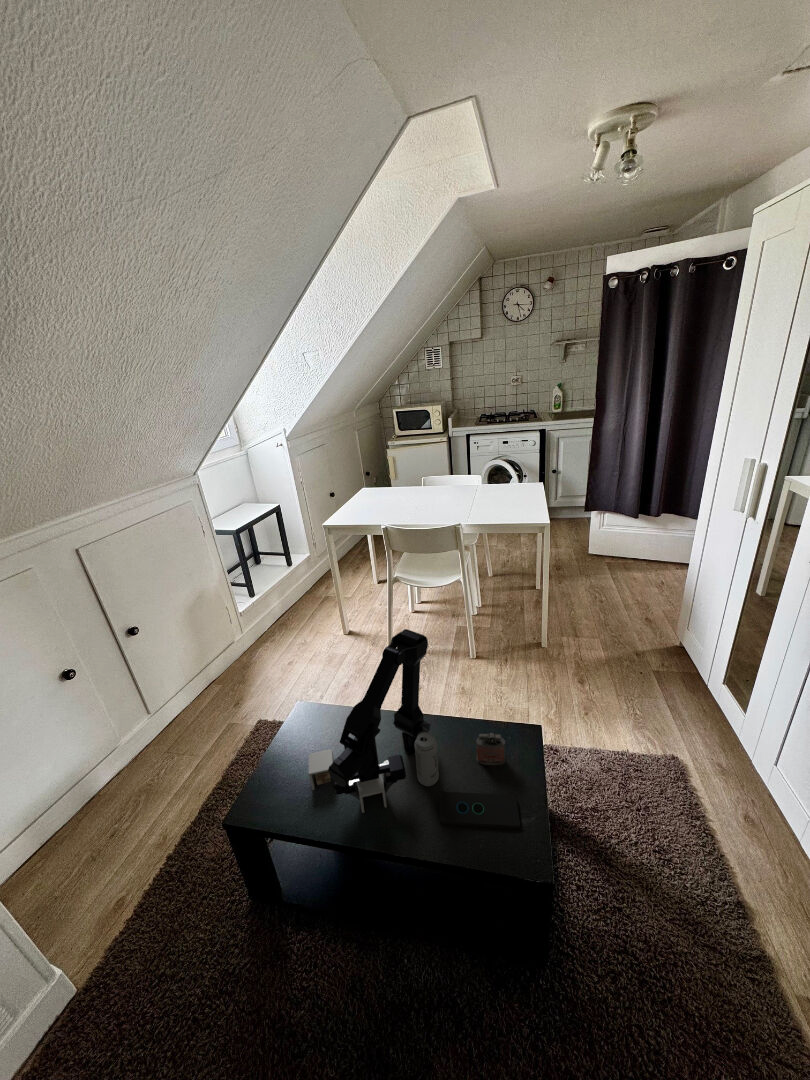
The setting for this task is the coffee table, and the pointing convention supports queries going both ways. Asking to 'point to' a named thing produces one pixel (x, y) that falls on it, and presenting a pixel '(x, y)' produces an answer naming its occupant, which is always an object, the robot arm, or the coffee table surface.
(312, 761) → the grey piece
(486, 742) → the lighter
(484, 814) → the smart home device
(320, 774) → the brown wooden cube
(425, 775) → the energy drink can
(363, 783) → the grey stool
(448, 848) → the coffee table surface
